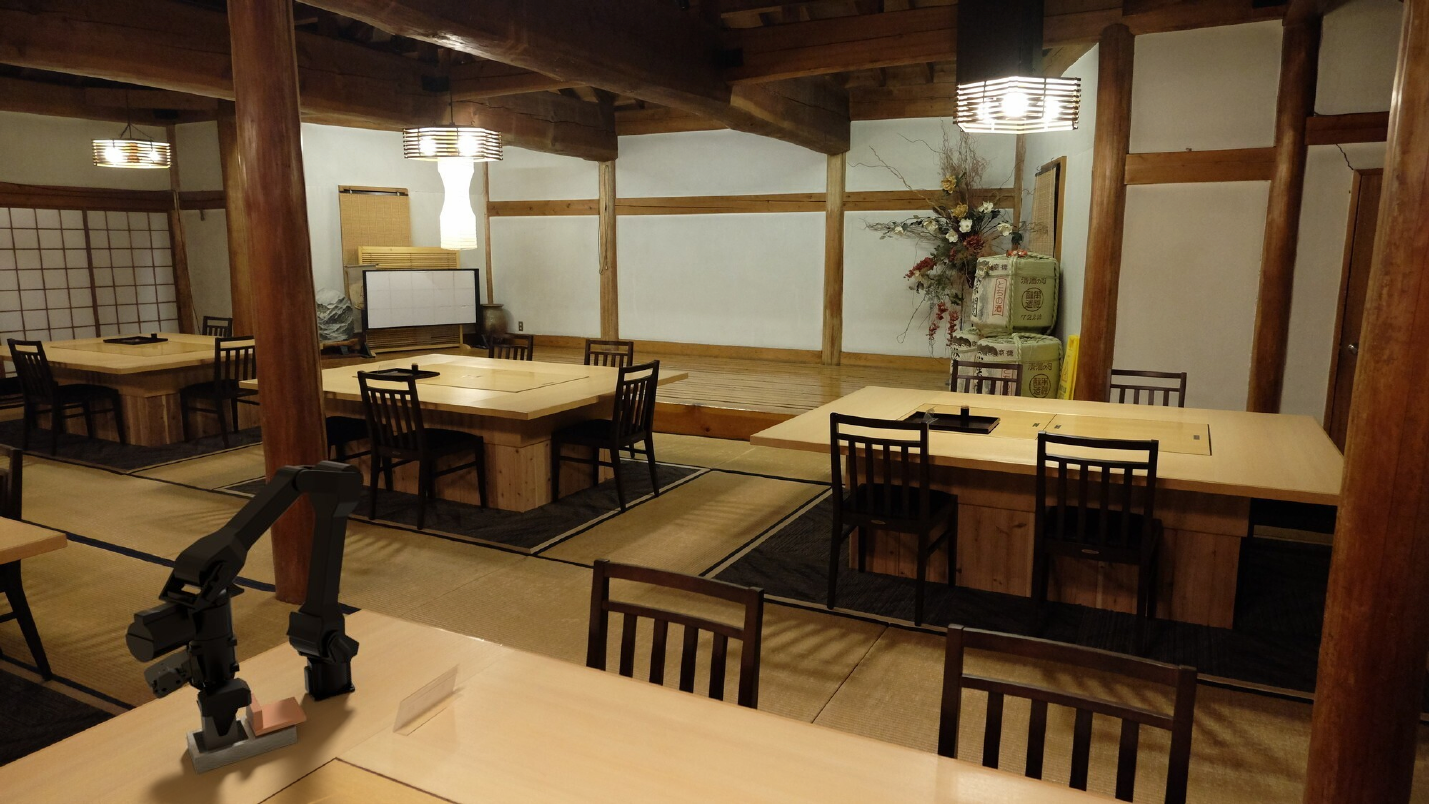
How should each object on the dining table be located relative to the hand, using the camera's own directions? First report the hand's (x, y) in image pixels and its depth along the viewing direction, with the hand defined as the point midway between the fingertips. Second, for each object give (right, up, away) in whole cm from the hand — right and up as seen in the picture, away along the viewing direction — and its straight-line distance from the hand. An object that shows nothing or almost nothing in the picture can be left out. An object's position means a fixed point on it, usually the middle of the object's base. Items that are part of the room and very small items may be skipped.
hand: (220, 728), depth 129 cm
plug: (0, -2, 0) cm, 2 cm away
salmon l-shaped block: (+6, 0, +5) cm, 8 cm away
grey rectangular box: (+2, -3, +3) cm, 5 cm away
